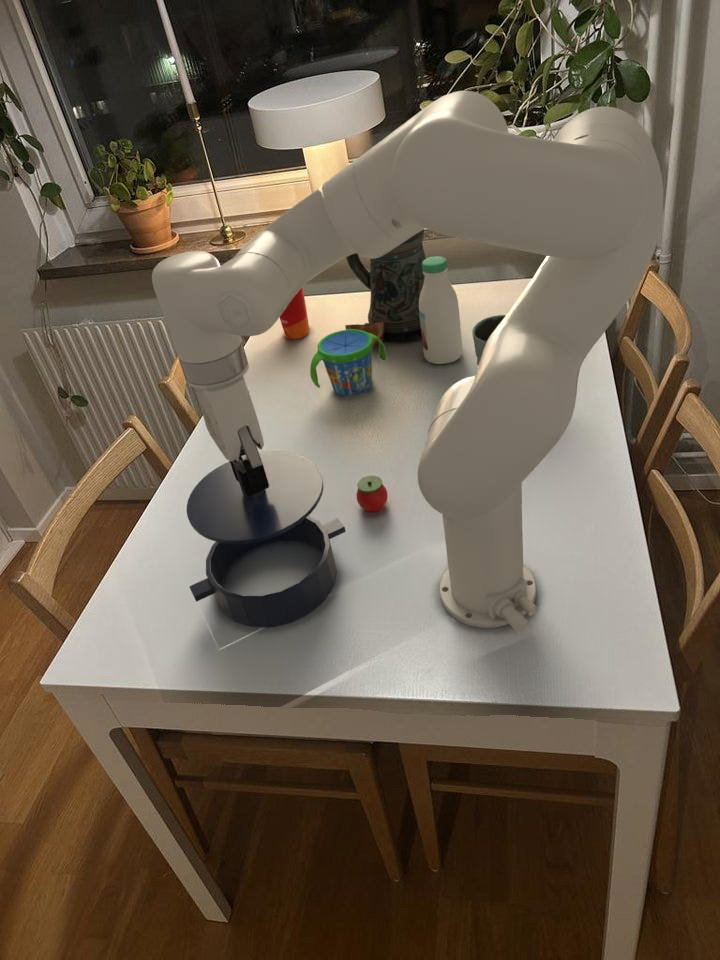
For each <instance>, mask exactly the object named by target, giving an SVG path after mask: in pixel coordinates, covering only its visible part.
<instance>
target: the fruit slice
mask: <svg viewBox="0 0 720 960" xmlns="http://www.w3.org/2000/svg"><path fill="white" fill-rule="evenodd" d="M344 327H345V330H351V329H355V330H362V331H365V332H367V333H371V334H373V335H375V336H377V337H378V338H379V339H380V340H381V339H382V338H383V336H384V333H385V323H384V322H376V323H369V322H365V323H364V324H358V323H357V324H345V325H344ZM381 341H382V340H381ZM377 345H379V342H378V341H377V339H374V340H373V347H374V346H377Z"/></svg>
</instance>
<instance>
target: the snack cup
mask: <svg viewBox="0 0 720 960" xmlns="http://www.w3.org/2000/svg"><path fill="white" fill-rule="evenodd" d="M374 339H377V341H378V342H379V343H378V358H379V359H380V360H381V361H382V362H386V360H387V349H386V347H385V345H384V341H383V340H380V339H379V338H378V337H377V336H375V335H373V334H371V333H367V332H365V331H362V330H355V329H351V330H346V329H343V330H338V331H335V332H332V333H329V334H327V335H326V336H323V338H321V340H319V342H318V343H317V351H316V353H315V354H314V355H313V357H312V359H311V362H310V367H309V375H310V379H311V381H312V383H313V385H314V386H316V388H318V389H320V388H321V385H320V383H319V378H318V372H317V371H318V370H317V367H318V365H319V364H320V362H321V361H322V362H323V365H324V367H325V370H326V373H327V375H328V378H329V380H330V384H331V387H332V388H333V391H334V393H336V394H337V395H340V396H343V397H354V396H358V395H361V394H363V393H365V392H366V391H368V390H370V388H371V386H372V381H373V364H372V363H373V362H372V359H373V357H372V352H373V348H374V346H373V340H374Z"/></svg>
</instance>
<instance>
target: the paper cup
mask: <svg viewBox="0 0 720 960" xmlns="http://www.w3.org/2000/svg"><path fill="white" fill-rule="evenodd" d="M304 292H305V291H304V286H303V287H301V289H300V290H299V291H298V292H297V294H296V295H295V296H294V298H293V299H292V300H291V302H290V303H289V304H288V306H287V307H286V309H285V310H284V311H283V313H282V314H281V316H280V317H279V321H280V323H281V328H282V329H283V333H284V336H285V338H286V339H288V340H298V339H303V338H305V337H307V336H308V335H309V333H310V325H309V318H308V313H307V311H308V310H307V305H306V297H305V293H304Z"/></svg>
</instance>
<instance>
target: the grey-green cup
mask: <svg viewBox="0 0 720 960" xmlns="http://www.w3.org/2000/svg"><path fill="white" fill-rule="evenodd" d="M506 315H507V314H498V315H497V314H496V315H492V316H488V317H486V318H483V319H481V320H480V321H478V322H477V323H475V325H474V326H473V328H472V331H471V332H472V339H473V346H474V353H475V357H476V366H477V367H478V366H479V362H480V359H481V356H482V353H483V350H484V348H485V345H486V343H487V340H488V339H489V337H490V335H491V334H492V333H493V331H494V330H495V329H496V327H497V326H498V325H499V324H500V322H501V321H502V320H503V319H504V317H505V316H506Z"/></svg>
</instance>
